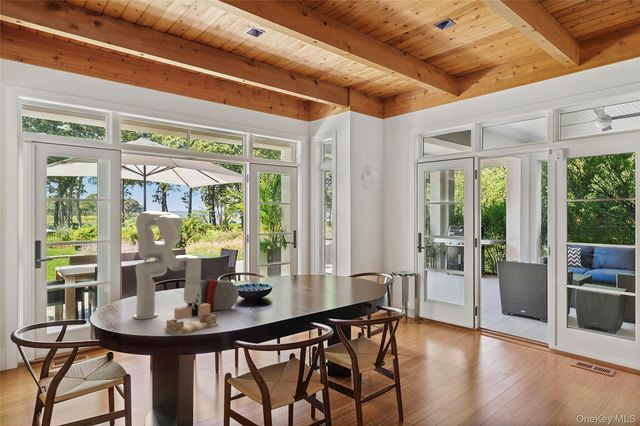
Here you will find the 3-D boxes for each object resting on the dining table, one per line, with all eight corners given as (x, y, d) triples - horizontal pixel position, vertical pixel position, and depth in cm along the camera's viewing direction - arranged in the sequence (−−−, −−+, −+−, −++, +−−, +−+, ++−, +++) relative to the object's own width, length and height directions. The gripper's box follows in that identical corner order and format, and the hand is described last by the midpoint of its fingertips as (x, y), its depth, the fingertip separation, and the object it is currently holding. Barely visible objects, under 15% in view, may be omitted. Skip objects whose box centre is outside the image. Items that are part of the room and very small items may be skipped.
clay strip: (178, 319, 196) (178, 309, 196) (174, 318, 199) (174, 308, 199) (210, 313, 209) (210, 304, 210) (206, 312, 212) (206, 303, 212)
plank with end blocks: (175, 334, 191) (176, 324, 191) (164, 329, 200) (164, 319, 200) (218, 325, 209) (218, 316, 209) (206, 321, 217) (206, 312, 217)
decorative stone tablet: (194, 280, 230) (241, 280, 248) (190, 278, 235) (236, 279, 253) (190, 313, 229) (237, 311, 246) (186, 311, 234) (233, 309, 252)
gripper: (178, 279, 207) (177, 313, 207) (194, 283, 196) (194, 319, 196) (191, 277, 213) (191, 311, 213) (208, 281, 202) (207, 317, 201)
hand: (192, 315), depth 204 cm, fingers closed on clay strip, 4 cm apart
